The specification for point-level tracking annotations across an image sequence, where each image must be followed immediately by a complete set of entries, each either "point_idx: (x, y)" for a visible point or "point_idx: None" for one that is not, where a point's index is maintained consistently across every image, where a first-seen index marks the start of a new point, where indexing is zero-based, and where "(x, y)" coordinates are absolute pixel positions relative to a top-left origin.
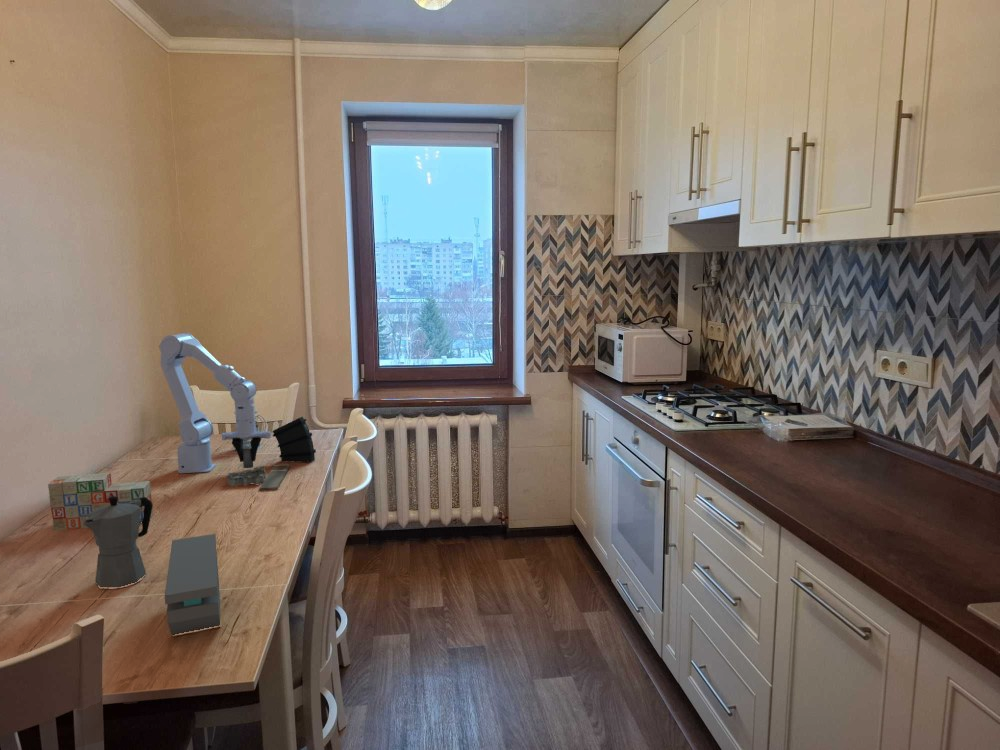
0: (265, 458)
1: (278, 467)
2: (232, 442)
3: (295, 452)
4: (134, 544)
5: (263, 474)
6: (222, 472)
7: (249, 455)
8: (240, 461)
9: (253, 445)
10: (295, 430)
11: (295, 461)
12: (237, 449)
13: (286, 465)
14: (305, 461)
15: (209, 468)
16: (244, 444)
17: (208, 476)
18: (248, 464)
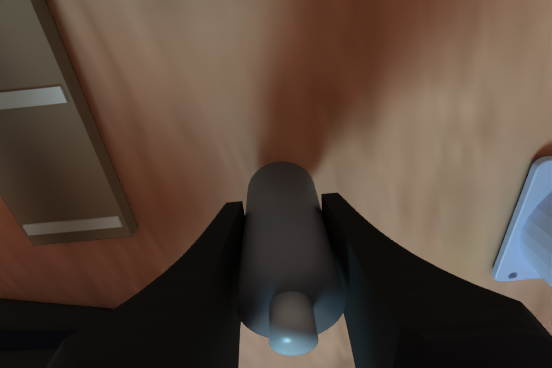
0: (259, 350)
1: (65, 184)
2: (549, 335)
3: (30, 357)
4: None
5: None
6: (446, 148)
7: (256, 228)
8: (338, 194)
9: (163, 308)
10: None
11: (69, 306)
12: (396, 257)
13: (38, 223)
14: (5, 302)
15: (536, 203)
16: None
17: (546, 56)
18: (269, 177)
